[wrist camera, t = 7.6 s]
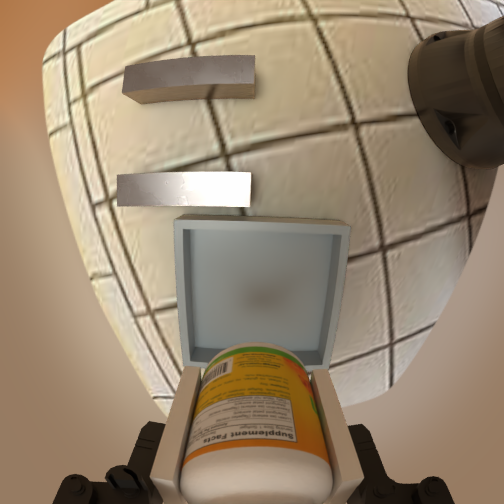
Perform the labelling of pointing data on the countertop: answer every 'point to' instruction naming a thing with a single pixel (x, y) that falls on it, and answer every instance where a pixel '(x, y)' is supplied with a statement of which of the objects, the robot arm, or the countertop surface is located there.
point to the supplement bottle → (256, 432)
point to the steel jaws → (188, 88)
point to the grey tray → (259, 284)
